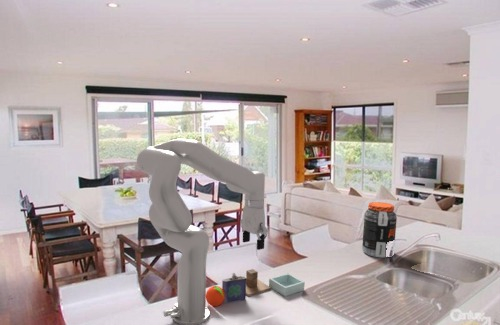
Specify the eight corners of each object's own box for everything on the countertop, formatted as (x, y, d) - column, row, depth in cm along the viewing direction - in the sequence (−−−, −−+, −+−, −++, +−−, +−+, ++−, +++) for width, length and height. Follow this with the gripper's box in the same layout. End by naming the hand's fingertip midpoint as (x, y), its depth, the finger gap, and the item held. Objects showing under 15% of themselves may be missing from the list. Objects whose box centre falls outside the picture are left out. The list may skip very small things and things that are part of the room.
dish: (284, 298, 144) (285, 288, 144) (268, 287, 152) (269, 278, 152) (304, 291, 150) (304, 282, 149) (287, 282, 158) (288, 273, 158)
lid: (248, 296, 143) (248, 279, 143) (232, 285, 152) (233, 269, 152) (270, 289, 150) (271, 273, 149) (254, 279, 159) (255, 263, 158)
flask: (222, 305, 138) (223, 277, 136) (220, 301, 140) (221, 273, 139) (246, 301, 141) (247, 274, 140) (243, 297, 144) (244, 270, 142)
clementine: (230, 306, 137) (230, 287, 136) (216, 313, 132) (216, 293, 131) (216, 298, 142) (216, 280, 141) (201, 304, 137) (201, 286, 136)
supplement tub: (390, 261, 185) (394, 209, 182) (358, 254, 193) (361, 205, 190) (396, 251, 198) (400, 203, 195) (366, 245, 206) (369, 199, 203)
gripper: (234, 199, 152) (233, 240, 154) (259, 209, 138) (258, 254, 140) (249, 197, 156) (248, 237, 158) (275, 206, 142) (274, 250, 144)
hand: (253, 245), depth 149 cm, fingers open, 9 cm apart
